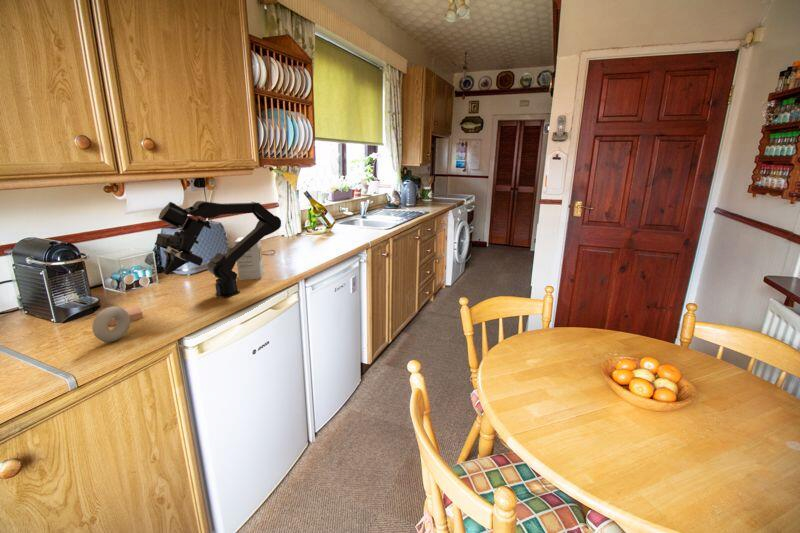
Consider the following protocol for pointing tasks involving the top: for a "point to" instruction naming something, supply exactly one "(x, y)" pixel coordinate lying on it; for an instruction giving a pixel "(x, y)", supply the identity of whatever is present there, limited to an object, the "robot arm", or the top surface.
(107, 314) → the donut
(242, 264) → the supplement box
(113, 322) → the terracotta tile
